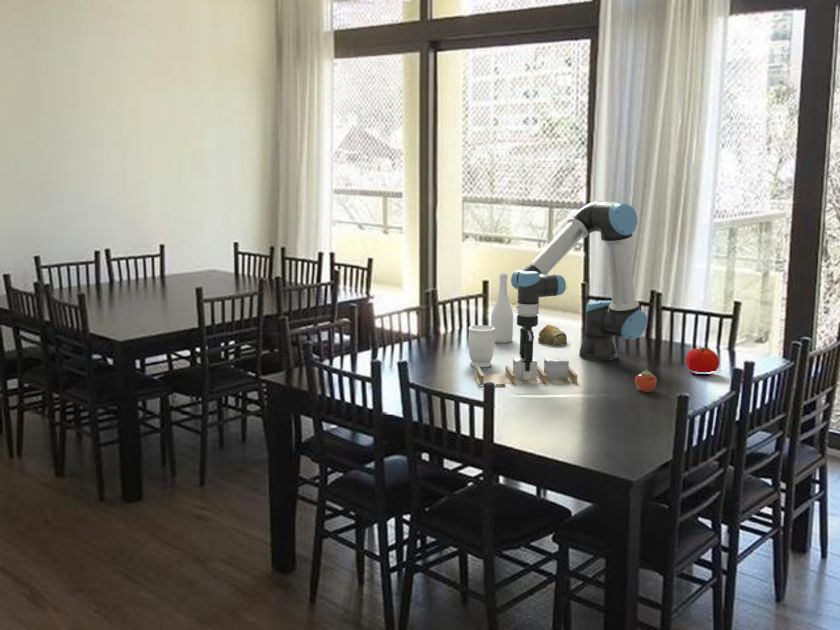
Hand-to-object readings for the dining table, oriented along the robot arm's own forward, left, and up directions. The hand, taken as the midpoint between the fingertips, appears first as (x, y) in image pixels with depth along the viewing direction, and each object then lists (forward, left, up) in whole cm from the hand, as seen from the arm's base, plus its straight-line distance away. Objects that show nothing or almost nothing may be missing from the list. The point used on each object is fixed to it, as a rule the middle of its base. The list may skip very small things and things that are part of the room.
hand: (525, 377), depth 318 cm
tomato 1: (-40, +14, -2) cm, 42 cm away
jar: (+13, -24, -2) cm, 27 cm away
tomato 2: (-69, -9, -2) cm, 70 cm away
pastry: (-24, -63, -2) cm, 67 cm away
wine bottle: (-2, -67, -2) cm, 67 cm away
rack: (0, 0, -1) cm, 1 cm away
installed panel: (-11, 0, 0) cm, 11 cm away
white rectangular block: (0, 0, 0) cm, 0 cm away
